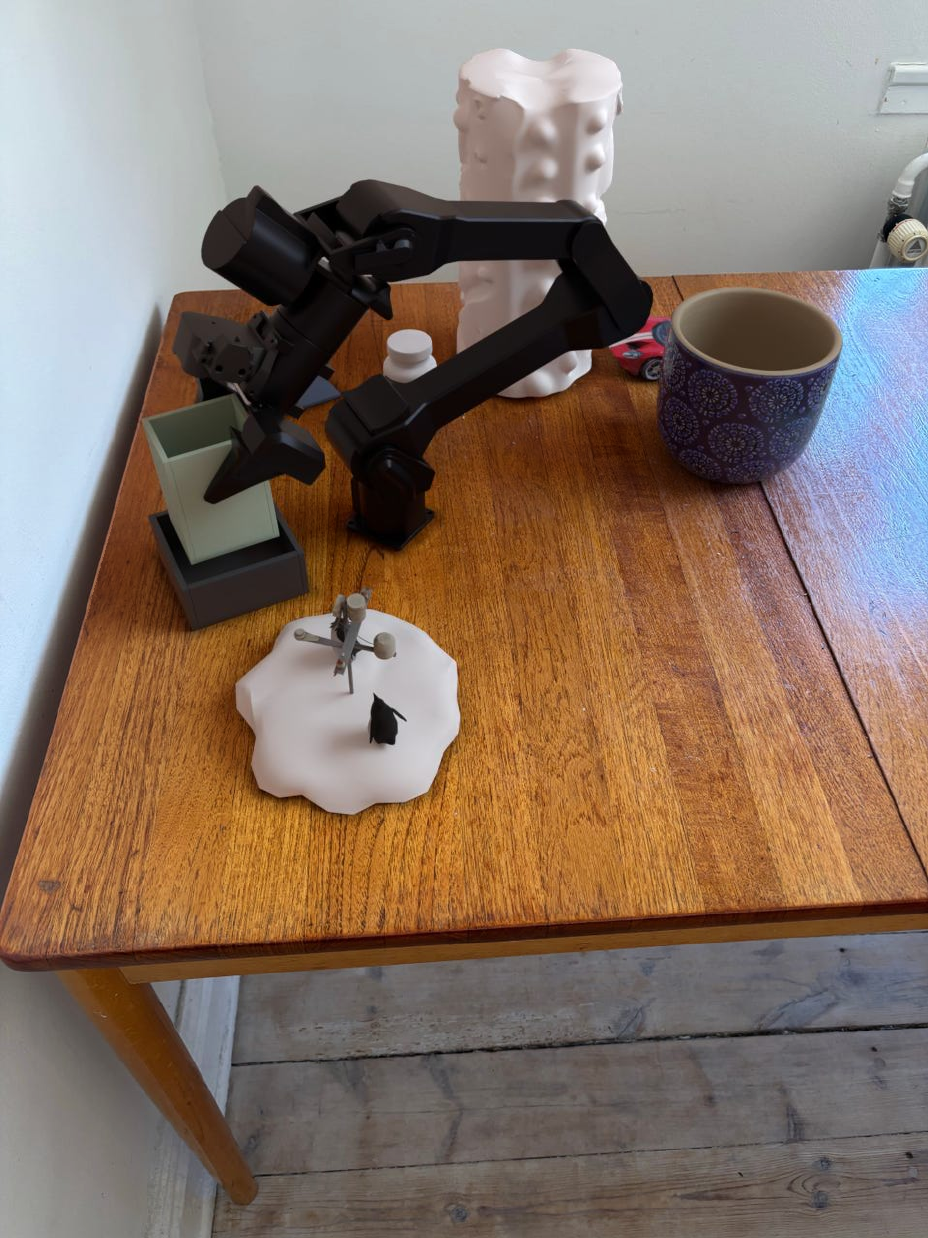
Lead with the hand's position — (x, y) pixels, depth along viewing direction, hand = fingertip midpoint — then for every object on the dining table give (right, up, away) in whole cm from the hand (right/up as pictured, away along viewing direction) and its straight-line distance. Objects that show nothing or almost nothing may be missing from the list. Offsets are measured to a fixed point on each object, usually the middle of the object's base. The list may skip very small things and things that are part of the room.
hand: (195, 477), depth 85 cm
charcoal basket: (+1, -8, +9) cm, 12 cm away
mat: (+2, +14, +30) cm, 33 cm away
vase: (+29, +18, +34) cm, 49 cm away
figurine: (+13, -20, -2) cm, 24 cm away
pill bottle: (+17, +10, +26) cm, 33 cm away
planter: (+50, +6, +23) cm, 56 cm away
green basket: (+1, -4, +5) cm, 6 cm away
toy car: (+50, +19, +35) cm, 64 cm away
